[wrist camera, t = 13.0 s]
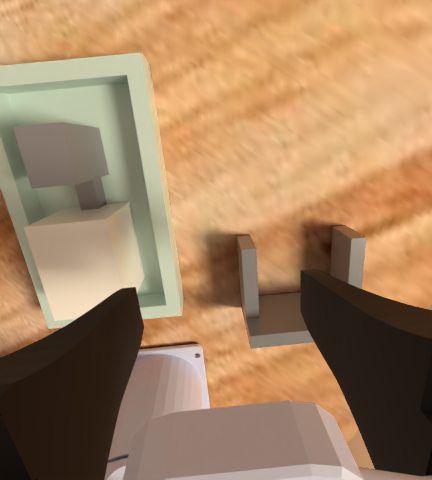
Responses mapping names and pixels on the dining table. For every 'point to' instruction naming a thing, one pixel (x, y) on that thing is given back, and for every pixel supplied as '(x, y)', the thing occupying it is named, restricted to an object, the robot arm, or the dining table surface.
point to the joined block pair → (78, 221)
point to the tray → (116, 152)
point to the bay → (288, 304)
